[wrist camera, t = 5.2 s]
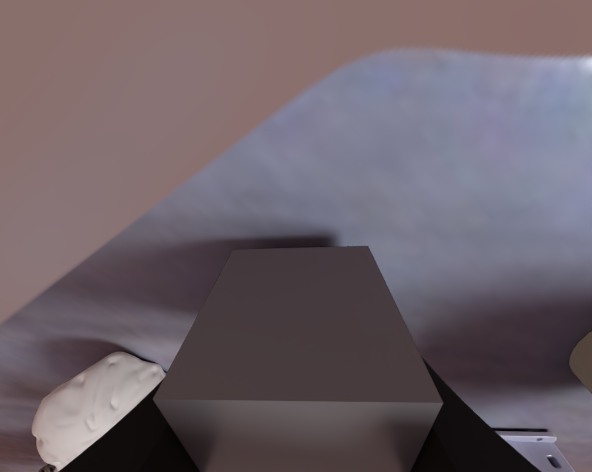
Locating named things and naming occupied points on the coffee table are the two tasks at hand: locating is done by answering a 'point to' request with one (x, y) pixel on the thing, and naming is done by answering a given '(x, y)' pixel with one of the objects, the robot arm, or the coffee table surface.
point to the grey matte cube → (300, 369)
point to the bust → (91, 405)
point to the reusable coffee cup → (583, 361)
